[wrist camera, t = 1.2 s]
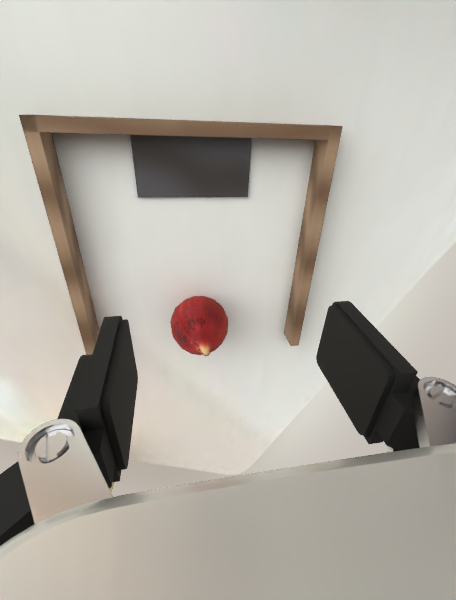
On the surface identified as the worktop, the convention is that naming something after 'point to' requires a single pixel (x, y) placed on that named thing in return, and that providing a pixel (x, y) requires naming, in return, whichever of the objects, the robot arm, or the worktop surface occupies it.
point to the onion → (199, 325)
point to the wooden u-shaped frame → (181, 185)
